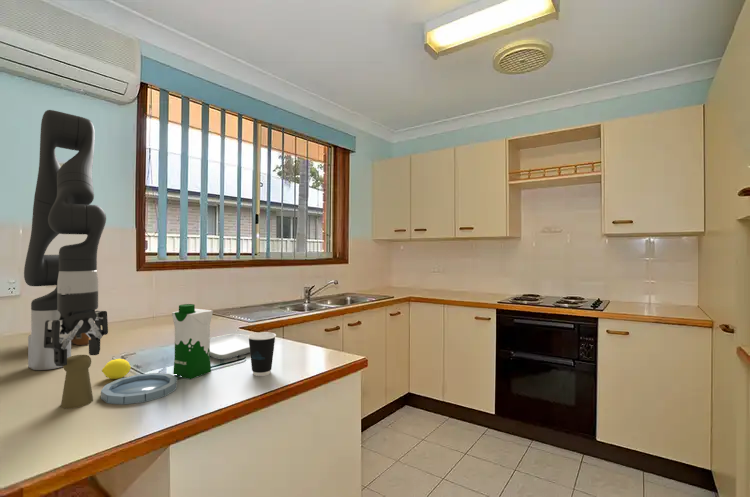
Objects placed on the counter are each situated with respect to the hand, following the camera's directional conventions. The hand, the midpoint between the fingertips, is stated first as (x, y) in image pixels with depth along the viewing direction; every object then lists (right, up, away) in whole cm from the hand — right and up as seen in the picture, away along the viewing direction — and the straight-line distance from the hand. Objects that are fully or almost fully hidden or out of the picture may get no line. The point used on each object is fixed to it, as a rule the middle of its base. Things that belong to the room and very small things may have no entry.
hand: (78, 360), depth 90 cm
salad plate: (+18, -10, +45) cm, 50 cm away
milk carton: (+17, -10, +21) cm, 29 cm away
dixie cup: (+36, -11, +22) cm, 44 cm away
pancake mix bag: (-42, -9, +53) cm, 68 cm away
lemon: (-2, -10, +17) cm, 19 cm away
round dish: (+10, -10, +8) cm, 16 cm away
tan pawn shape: (0, -10, 0) cm, 10 cm away
